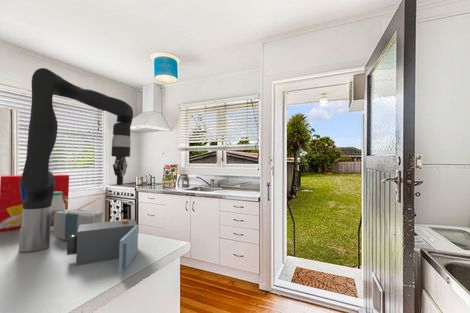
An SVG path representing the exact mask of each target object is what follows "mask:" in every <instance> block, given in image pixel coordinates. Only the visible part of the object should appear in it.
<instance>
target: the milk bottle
mask: <svg viewBox="0 0 470 313" xmlns="http://www.w3.org/2000/svg"><path fill="white" fill-rule="evenodd" d="M62 194H63V192H61V191H58V192H53V199H52V204H51V227H50V232H54V217H55V212H58V211H63V210H65V204H64V202H63V200H62Z"/></svg>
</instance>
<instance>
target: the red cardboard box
mask: <svg viewBox="0 0 470 313" xmlns="http://www.w3.org/2000/svg"><path fill="white" fill-rule="evenodd" d="M53 176H54V192H58V191H61V192H63V194H62V200H63V202H64V204H65V210H67V209H69V188H70V175H69V174H53ZM21 178H22V174H21V175H20V174H19V175H0V233H4V232H11V231H20V228H21V227H22V209H23V208H22V207H23V201H24V199H25V197H26V190H25V189H24V188H23V186H22V184H21Z"/></svg>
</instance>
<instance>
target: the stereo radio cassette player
mask: <svg viewBox="0 0 470 313" xmlns="http://www.w3.org/2000/svg"><path fill="white" fill-rule="evenodd" d="M99 199H101V197H98V199H95V200H93V201H91V202H88V203H87V204H84V205H83V206H80V207H79V208H75V209H74V208H68V209H67V210H63V211H58V212H55V217H54V231H53V238H54V239H57V240H62V241H63V240H64V241H68V236H69V235H77V232H78V228H79V225H81V224H91V223H101V222H103V215H104V211H97V210H96V211H95V210H87V209H85V210H84V209H82V208H86V207H87V206H89V205H90V204H93V203H94V202H96V201H98V200H99Z"/></svg>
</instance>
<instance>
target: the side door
mask: <svg viewBox="0 0 470 313" xmlns="http://www.w3.org/2000/svg"><path fill="white" fill-rule="evenodd" d="M138 245H139V225H138V224H137V225H136V226H135V227H134V228H132V229H131V230H130V231H129V232H128V233H127V234H126V235H125V236H124V237H123V238H122V239H121V240H120V247H119V258H118V272H117V273H118V276H119V275H123V273H124V272H125V270H126V269H127V268H128V266H130V264H131V262H132V261H133V260H134V258H135V257H136V255H137V254H138V248H139V247H138Z"/></svg>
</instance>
